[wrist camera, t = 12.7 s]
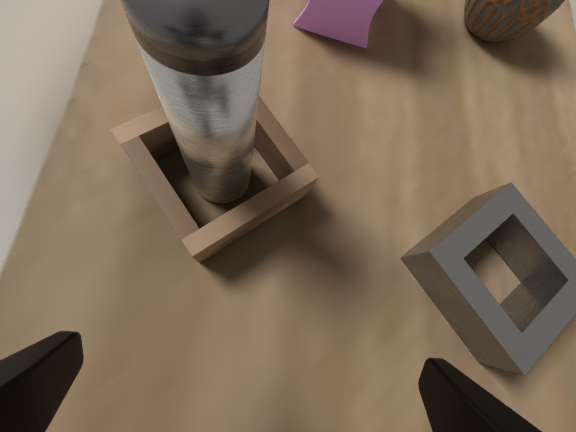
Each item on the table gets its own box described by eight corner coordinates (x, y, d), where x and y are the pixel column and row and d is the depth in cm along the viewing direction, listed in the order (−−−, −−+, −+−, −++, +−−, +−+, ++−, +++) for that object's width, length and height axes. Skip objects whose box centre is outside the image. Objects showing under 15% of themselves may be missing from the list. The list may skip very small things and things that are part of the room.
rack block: (199, 263, 17) (191, 256, 14) (130, 156, 18) (110, 129, 15) (306, 194, 19) (319, 177, 16) (240, 103, 20) (241, 71, 17)
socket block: (479, 362, 18) (524, 375, 15) (400, 257, 19) (429, 251, 16) (547, 287, 20) (598, 286, 17) (474, 197, 21) (511, 182, 18)
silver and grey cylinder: (235, 212, 18) (231, 51, 6) (181, 188, 18) (68, -27, 6) (258, 165, 19) (294, -50, 7) (208, 142, 19) (160, -117, 7)
